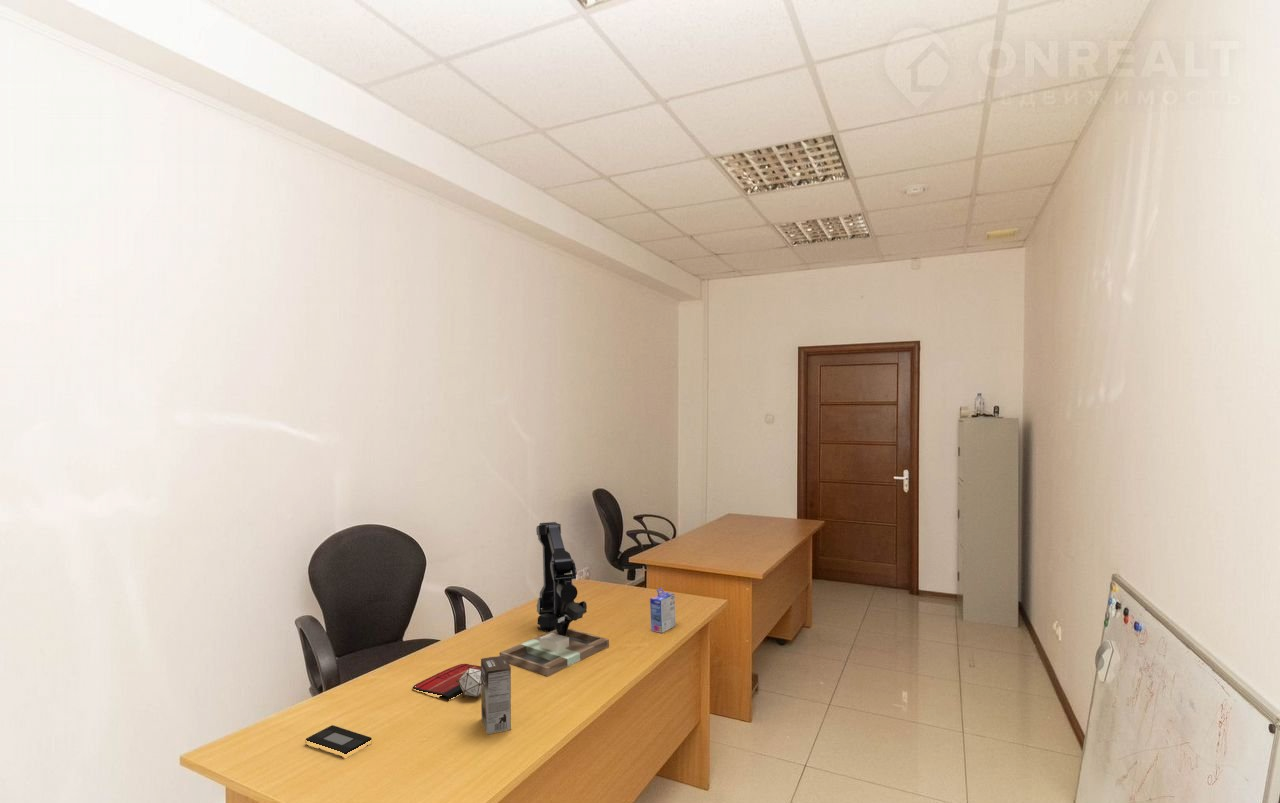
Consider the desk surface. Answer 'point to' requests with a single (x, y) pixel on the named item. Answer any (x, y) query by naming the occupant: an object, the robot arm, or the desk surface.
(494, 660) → the coffee box
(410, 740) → the desk surface
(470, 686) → the game die
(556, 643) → the cream block
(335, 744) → the black computer chip
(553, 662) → the trap deck
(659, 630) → the ink cartridge box
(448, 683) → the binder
